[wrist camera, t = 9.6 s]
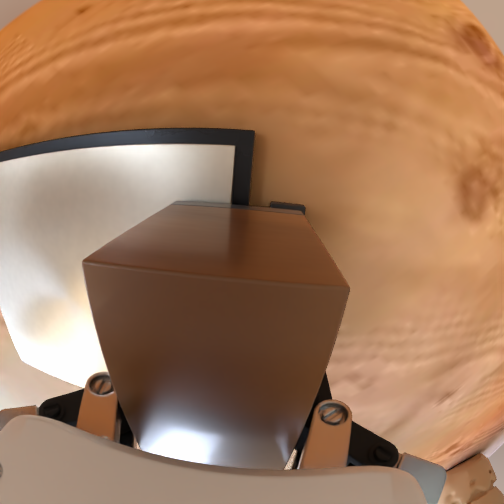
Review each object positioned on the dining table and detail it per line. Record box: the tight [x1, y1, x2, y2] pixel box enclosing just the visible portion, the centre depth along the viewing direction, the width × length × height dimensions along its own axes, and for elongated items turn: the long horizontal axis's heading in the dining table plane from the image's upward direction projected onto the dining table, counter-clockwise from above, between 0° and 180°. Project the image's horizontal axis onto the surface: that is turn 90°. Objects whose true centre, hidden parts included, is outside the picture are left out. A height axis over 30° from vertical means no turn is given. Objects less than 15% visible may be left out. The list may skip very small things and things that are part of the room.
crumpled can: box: [438, 453, 504, 504], centre depth 18 cm, size 13×13×18 cm
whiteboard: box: [0, 128, 255, 389], centre depth 13 cm, size 20×18×1 cm
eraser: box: [82, 201, 350, 470], centre depth 10 cm, size 5×12×6 cm, turn 175°
